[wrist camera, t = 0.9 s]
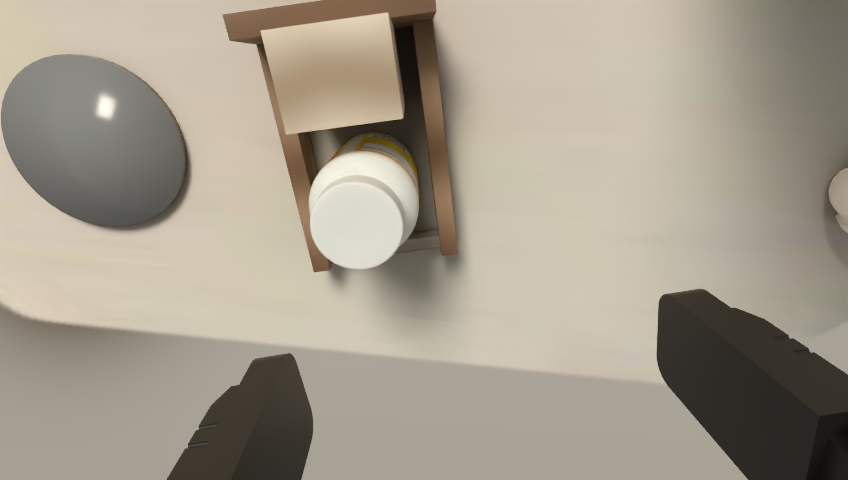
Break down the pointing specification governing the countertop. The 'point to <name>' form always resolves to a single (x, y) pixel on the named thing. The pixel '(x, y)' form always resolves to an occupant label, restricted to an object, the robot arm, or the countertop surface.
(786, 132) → the countertop surface
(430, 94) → the rack
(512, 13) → the countertop surface
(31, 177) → the coaster
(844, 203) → the water bottle
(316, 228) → the supplement bottle
